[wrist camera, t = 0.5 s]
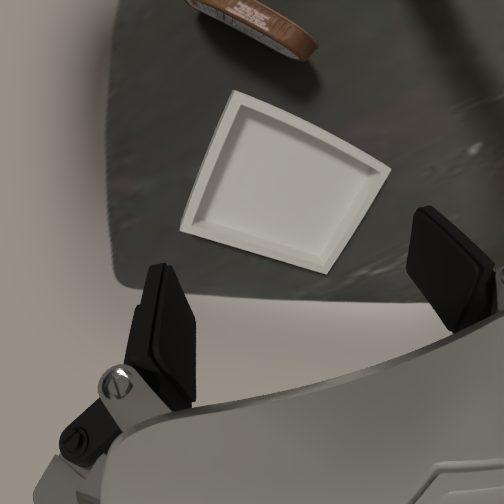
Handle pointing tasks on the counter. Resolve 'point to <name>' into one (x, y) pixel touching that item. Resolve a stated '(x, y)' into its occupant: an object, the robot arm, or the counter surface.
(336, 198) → the white tray
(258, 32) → the tin
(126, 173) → the counter surface
